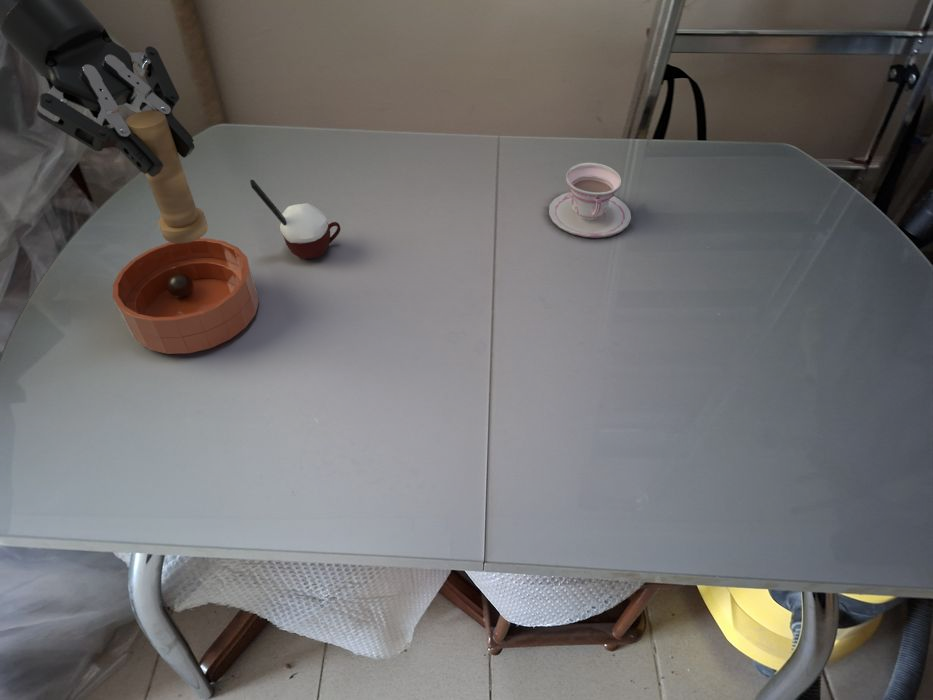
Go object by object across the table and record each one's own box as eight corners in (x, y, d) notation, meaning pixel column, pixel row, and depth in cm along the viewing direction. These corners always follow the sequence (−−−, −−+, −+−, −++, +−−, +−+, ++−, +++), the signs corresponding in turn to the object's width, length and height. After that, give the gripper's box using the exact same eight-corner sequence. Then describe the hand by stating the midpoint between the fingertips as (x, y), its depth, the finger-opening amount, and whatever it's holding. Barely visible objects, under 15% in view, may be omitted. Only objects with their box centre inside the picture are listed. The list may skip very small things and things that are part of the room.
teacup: (543, 194, 101) (547, 157, 96) (620, 192, 101) (627, 155, 97) (554, 240, 92) (559, 202, 88) (639, 238, 93) (647, 200, 88)
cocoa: (344, 238, 92) (332, 161, 84) (337, 266, 88) (324, 187, 79) (277, 237, 92) (258, 160, 84) (267, 265, 88) (246, 186, 80)
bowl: (158, 378, 74) (140, 340, 69) (113, 307, 82) (94, 269, 78) (281, 321, 80) (271, 283, 76) (228, 261, 89) (216, 224, 84)
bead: (176, 306, 81) (169, 287, 79) (167, 293, 83) (159, 275, 80) (200, 296, 82) (193, 277, 80) (190, 284, 84) (183, 265, 82)
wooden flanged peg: (172, 249, 70) (129, 135, 61) (156, 228, 73) (111, 116, 63) (215, 232, 72) (179, 120, 63) (197, 213, 75) (160, 102, 65)
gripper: (-34, 8, 53) (128, 178, 58) (106, -38, 62) (237, 113, 67) (-40, 61, 59) (109, 213, 64) (89, 12, 68) (211, 148, 72)
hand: (174, 161), depth 65 cm, fingers closed on wooden flanged peg, 3 cm apart
